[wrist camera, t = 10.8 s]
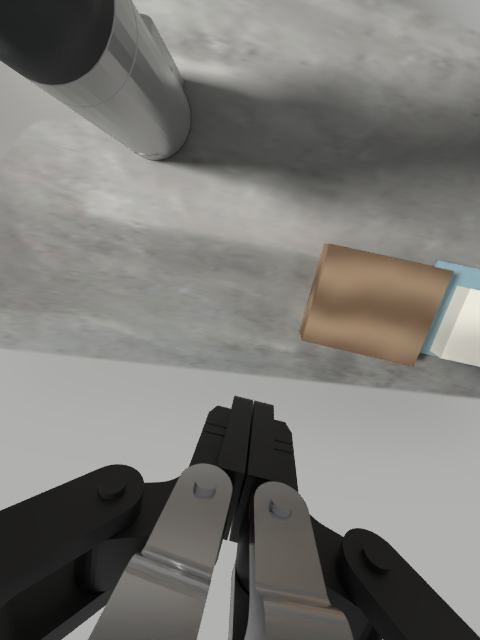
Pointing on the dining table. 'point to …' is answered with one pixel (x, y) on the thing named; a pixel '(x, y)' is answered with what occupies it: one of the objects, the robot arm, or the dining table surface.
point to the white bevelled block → (460, 329)
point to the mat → (450, 296)
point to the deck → (372, 304)
